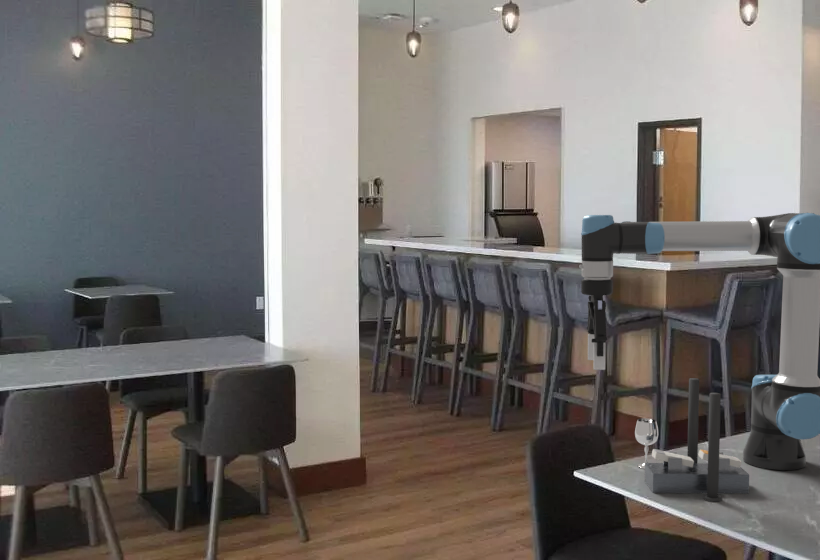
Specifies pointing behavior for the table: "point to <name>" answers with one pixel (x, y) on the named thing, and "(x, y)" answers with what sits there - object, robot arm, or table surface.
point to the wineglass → (646, 435)
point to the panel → (694, 477)
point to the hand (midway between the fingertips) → (596, 364)
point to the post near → (713, 448)
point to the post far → (693, 419)
